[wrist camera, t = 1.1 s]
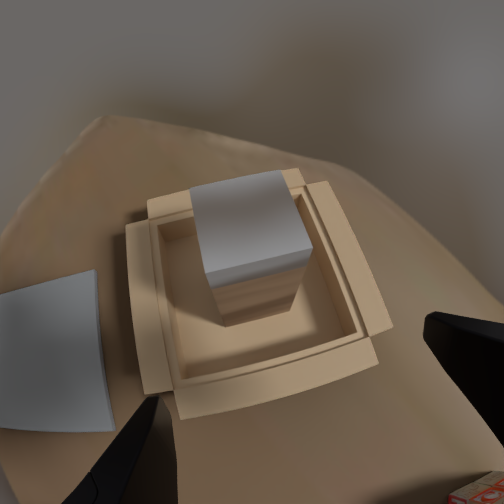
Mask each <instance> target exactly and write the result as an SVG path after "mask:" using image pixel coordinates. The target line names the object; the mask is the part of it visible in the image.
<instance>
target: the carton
mask: <svg viewBox="0 0 504 504" xmlns="http://www.w3.org/2000/svg"><path fill="white" fill-rule="evenodd" d="M281 173H282V175H283V177H284V179H285V182H286V184H287V186H288V189H289V191H290V193H291V195H292V198H293V200H294V202H295V205H296V207H297V210H298V212H299V214H300V217H301V219H302V222H303V224H304V226H305V229H306V231H307V234H308V236H309V239H310V241H311V244H312V246H313V249H312V252H311V255H310V258H309V260H308V263H307V266H306V269H305V272H304V274H303V277H302V280H301V282H300V285H299V288H298V291H297V293H296V296H295V298H294V301H293V304H292V306H291V309H290V311H288V312H285V313H281V314H277V315H273V316H270V317H266V318H262V319H258V320H254V321H250V322H246V323H242V324H238V325H234V326H230V327H225V325H224V323H223V320H222V317H221V315H220V312H219V309H218V307H217V304H216V301H215V299H214V296H213V293H212V291H211V288H210V285H209V282H208V280H207V277H206V274H205V270H204V265H203V260H202V255H201V250H200V245H199V240H198V235H197V230H196V225H195V219H194V214H193V209H192V203H191V197H190V192H189V190H186V191H181V192H177V193H173V194H169V195H165V196H161V197H157V198H153V199H150V200H147V207H148V219H147V220H143V221H139V222H135V223H131V224H128V225H126V249H127V267H128V280H129V292H130V302H131V311H132V320H133V328H134V335H135V342H136V349H137V355H138V362H139V368H140V373H141V379H142V384H143V389H144V394H153V393H160V392H166V391H172V390H173V391H174V395H175V400H176V404H177V408H178V412H179V416H180V420H182V419H188V418H194V417H200V416H205V415H211V414H216V413H221V412H226V411H230V410H235V409H239V408H244V407H248V406H252V405H256V404H260V403H264V402H268V401H271V400H275V399H279V398H282V397H286V396H289V395H293V394H296V393H299V392H302V391H306V390H309V389H312V388H315V387H318V386H321V385H324V384H327V383H330V382H333V381H335V380H338V379H341V378H344V377H346V376H349V375H352V374H354V373H357V372H359V371H362V370H365V369H367V368H369V367H372V366H374V365H377V364H379V363H378V360H377V357H376V354H375V351H374V348H373V345H372V342H371V340H370V337H371V336H373V335H376V334H378V333H381V332H383V331H386V330H388V329H391V328H393V325H392V322H391V319H390V317H389V314H388V312H387V309H386V307H385V304H384V302H383V299H382V297H381V294H380V292H379V289H378V287H377V284H376V282H375V280H374V277H373V275H372V273H371V270H370V268H369V266H368V263H367V261H366V259H365V257H364V254H363V252H362V250H361V248H360V246H359V244H358V241H357V239H356V237H355V235H354V233H353V231H352V229H351V227H350V224H349V222H348V220H347V218H346V216H345V214H344V212H343V210H342V208H341V206H340V204H339V202H338V200H337V198H336V196H335V194H334V193H333V191H332V189H331V187H330V185H329V183H328V181H324V182H318V183H312V184H305V182H304V179H303V177H302V175H301V173H300V171H299V169H298V168H294V169H288V170H283V171H281Z"/></svg>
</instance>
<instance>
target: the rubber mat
mask: <svg viewBox="0 0 504 504" xmlns="http://www.w3.org/2000/svg"><path fill="white" fill-rule="evenodd" d="M0 427H1V428H9V429H19V430H31V431H48V432H104V431H116V428H115V424H114V419H113V414H112V409H111V404H110V399H109V393H108V387H107V381H106V374H105V367H104V360H103V352H102V343H101V333H100V321H99V307H98V286H97V272H96V271H95V270H90V271H86V272H82V273H78V274H74V275H71V276H67V277H63V278H59V279H55V280H52V281H48V282H44V283H40V284H37V285H33V286H29V287H25V288H22V289H18V290H14V291H11V292H7V293H4V294H0Z"/></svg>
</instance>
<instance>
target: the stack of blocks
mask: <svg viewBox="0 0 504 504" xmlns="http://www.w3.org/2000/svg"><path fill="white" fill-rule="evenodd" d="M448 504H504V472H501V471H493V472H491V473H489V474H487V475H486V476H484V477H482V478H480V479H478V480H476V481H475V482H473V483H470V484H468V485H466V486H464V487H462V488H460V489H458V490H456V491H454V492H452V493H450V494H449V498H448Z"/></svg>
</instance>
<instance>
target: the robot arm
mask: <svg viewBox="0 0 504 504" xmlns="http://www.w3.org/2000/svg"><path fill="white" fill-rule="evenodd" d="M423 338H424V341H425V342H426V344H427V345H428V347H429V348H430V349H431V351H432V352H433V354H434V355H435V357H436V358H437V360H438V361H439V363H440V364H441V366H442V367H443V369H444V370H445V371H446V373H447V374H448V375H449V376H450V378H451V379H452V380H453V381H454V383H455V384H456V385H457V386H458V388H459V389H460V390H461V391H462V393H463V394H464V395H465V396H466V398H467V399H468V400H469V401H470V403H471V404H472V405H473V407H474V408H475V409H476V410H477V412H478V413H479V414H480V416H481V417H482V418H483V420H484V421H485V422H486V424H487V425H488V426H489V428H490V429H491V430H492V432H493V433H494V434H495V436H496V437H497V439H498V440H499V441H500V443H501V444H502V446H503V447H504V324H503V323H497V322H492V321H486V320H480V319H475V318H469V317H464V316H458V315H453V314H448V313H442V312H437V311H435V312H432V313H430V314H428V315H427V316H426V317H425V322H424V330H423ZM61 504H178V490H177V459H176V451H175V443H174V436H173V427H172V419H171V415H170V412H169V411H168V409H167V407H166V405H165V403H164V401H163V399H162V398H161V396H159V395H156V396H149V397H147V398H146V399H145V400H144V401H143V403H142V404H141V405H140V406H139V408H138V409H137V410H136V412H135V413H134V414H133V416H132V417H131V418H130V419H129V421H128V422H127V423H126V425H125V426H124V427H123V429H122V430H121V431H120V432H119V434H118V435H117V436H116V438H115V439H114V440H113V441H112V443H111V444H110V445H109V447H108V448H107V449H106V450H105V452H104V453H103V454H102V456H101V457H100V458H99V459H98V461H97V462H96V463H95V465H94V466H93V467H92V468H91V470H90V472H88V473H87V475H86V476H85V477H84V479H83V480H82V481H81V482H80V483H79V485H78V486H77V487H76V488H75V489H74V491H73V492H72V493H71V494H70V495H69V496H68V497H67V498H66V499H65V500H64V501H63V502H62V503H61Z"/></svg>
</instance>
